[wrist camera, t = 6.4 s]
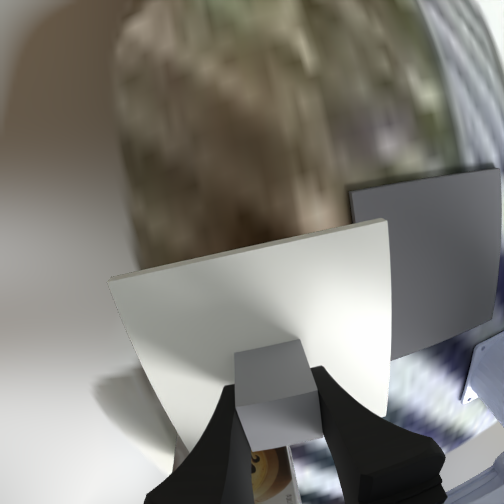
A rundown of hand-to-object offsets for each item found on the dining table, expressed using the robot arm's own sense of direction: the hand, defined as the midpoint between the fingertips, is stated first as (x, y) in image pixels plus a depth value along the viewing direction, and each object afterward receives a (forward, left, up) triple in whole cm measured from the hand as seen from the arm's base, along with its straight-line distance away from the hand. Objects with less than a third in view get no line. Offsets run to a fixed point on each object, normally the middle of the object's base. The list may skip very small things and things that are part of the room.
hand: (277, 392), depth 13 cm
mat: (-13, 0, -7) cm, 15 cm away
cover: (0, 0, -2) cm, 2 cm away
